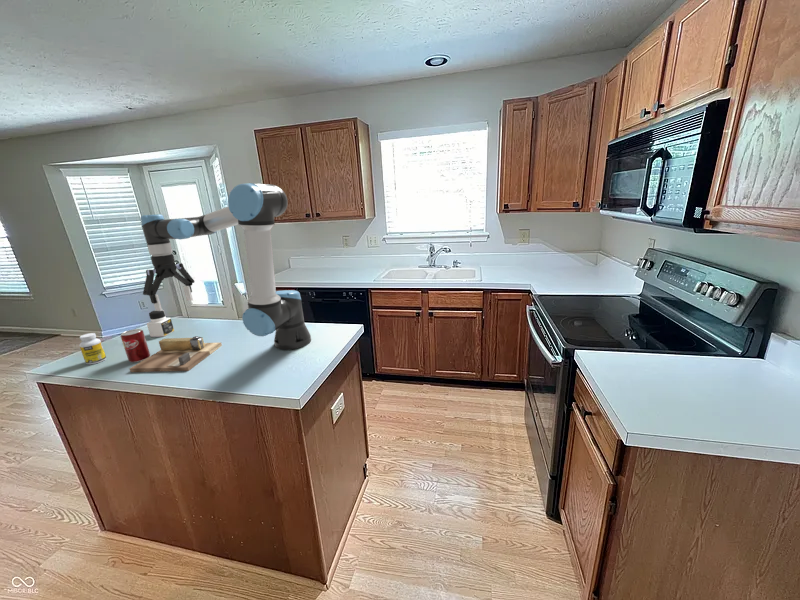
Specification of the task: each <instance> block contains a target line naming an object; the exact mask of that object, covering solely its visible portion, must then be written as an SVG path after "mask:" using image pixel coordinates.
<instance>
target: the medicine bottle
mask: <svg viewBox="0 0 800 600" xmlns="http://www.w3.org/2000/svg"><path fill="white" fill-rule="evenodd" d="M148 316H149V319H150V321H149V322H147V323H146V325H147V329H148V330H147V331H148V332H149V335H150V338H156V337H157V338H160V337H161V338H162V337H166V336H168V335H169V334H171V333H173V332H175V329H174V325H173V321H172V318H171V317H166V313H165V310H163V309H162V311H156V310H152V311H150V312H149V313H148Z"/></svg>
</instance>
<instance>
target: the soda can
mask: <svg viewBox="0 0 800 600" xmlns="http://www.w3.org/2000/svg"><path fill="white" fill-rule="evenodd" d="M120 339H121V342H122V345H123V349H124V351H125V354H126V357H127V361H128V362H130V363H131V364H133V363H134V364H135V363H140V362H141V361H143V360H145V359H146V358H148V357H150V356H151V352H150V349H149V345H148V343H147V340H146V337H145V332H144V330H143V329H142V328H135V329H130V330H126V331H124V332H121V334H120Z"/></svg>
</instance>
